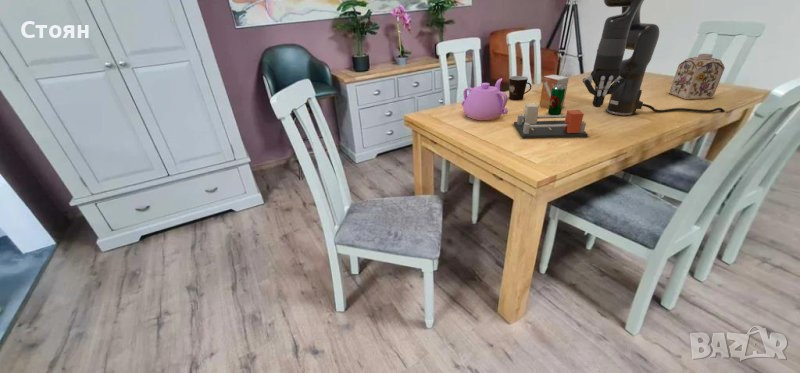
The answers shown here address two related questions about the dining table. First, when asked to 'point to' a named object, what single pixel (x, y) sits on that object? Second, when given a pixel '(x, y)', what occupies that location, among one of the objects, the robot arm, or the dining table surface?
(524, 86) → the coffee mug
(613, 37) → the robot arm
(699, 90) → the decorative jar
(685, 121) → the dining table surface
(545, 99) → the small box
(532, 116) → the ivory marker
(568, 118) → the terracotta marker
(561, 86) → the soda can
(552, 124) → the score rack
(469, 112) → the teapot
